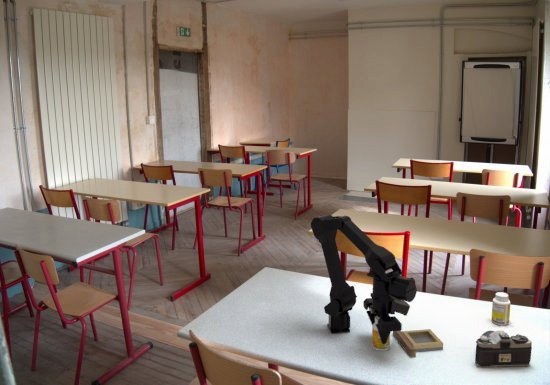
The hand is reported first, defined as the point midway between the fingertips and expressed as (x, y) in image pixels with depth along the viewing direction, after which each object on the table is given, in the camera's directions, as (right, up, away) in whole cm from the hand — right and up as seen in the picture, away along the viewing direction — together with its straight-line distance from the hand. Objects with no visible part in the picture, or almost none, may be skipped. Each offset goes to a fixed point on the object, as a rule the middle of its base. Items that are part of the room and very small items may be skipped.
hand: (380, 339), depth 154 cm
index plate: (+13, -2, +2) cm, 14 cm away
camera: (+33, -4, -8) cm, 34 cm away
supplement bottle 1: (0, -3, +1) cm, 3 cm away
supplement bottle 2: (+44, +1, +16) cm, 47 cm away
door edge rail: (+7, -2, +1) cm, 8 cm away
